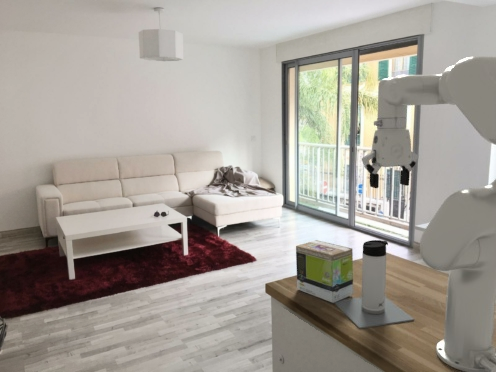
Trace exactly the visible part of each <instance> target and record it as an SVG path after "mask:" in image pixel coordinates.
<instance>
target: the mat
mask: <svg viewBox="0 0 496 372" xmlns="http://www.w3.org/2000/svg"><path fill="white" fill-rule="evenodd" d="M333 304H334V305H335V306H336V307H337V308H339V310H340V311H341V312H342V314H344V315H345V316H346V317H347V318H348V319H349V320H350V321H351V322H352V324H354V325H355V326H356V327H357V328H358V329H360V330H361V329H367V328H368V329H369V328H374V327H375V328H376V327H380V326H386V325H387V326H388V325H392V324H393V325H394V324H399V323H407V322H411V321H412V322H414V320H415V319H414V317H412V316H411V315H410V314H408V313H407V312H406V311H404V310H403V309H402V308H400V307H399V306H398V305H396V304H395V303H394V302H393V301H391V300H390V299H389V298H387V296H385V311H384V312H383V313H381V314H377V315H374V314H368V313H366V312H364V311H363V310H362V296H361V297H353V298H344V299H341V300H339V301H337V302H334V303H333Z"/></svg>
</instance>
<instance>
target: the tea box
mask: <svg viewBox="0 0 496 372" xmlns="http://www.w3.org/2000/svg"><path fill="white" fill-rule="evenodd" d="M353 256H354V255H353V248H352V247H348V246H343V245H339V244H334V243H331V242H326V241H322V240H318V239H315V240H312V241H308V242H304V243H302V244H299V245H296V246H295V259H296V261H295V262H296V263H295V264H296V288H297V291H301V292H304V293H307V294H309V295H311V296H314V297H317V298H319V299H322V300H325V301H327V302H330V303H331V304H334V302H337V301H339V300H345V299H347V298H349V297H350V296H352V295H353V294H354V266H353Z"/></svg>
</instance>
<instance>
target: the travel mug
mask: <svg viewBox="0 0 496 372" xmlns="http://www.w3.org/2000/svg"><path fill="white" fill-rule="evenodd" d="M387 246H389V242H388V241H387V240H380V239H378V240H377V239H375V240H374V239H373V240H368V241H365V242H363V244H362V261H361V263H362V265H361V266H362V267H361V270H362V271H361V277H362V278H361V297H362V310H363V311H364V312H366V313H368V314H374V315H377V314H381V313H383V312H384V311H385V297H386V273H387Z"/></svg>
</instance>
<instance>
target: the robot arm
mask: <svg viewBox="0 0 496 372" xmlns="http://www.w3.org/2000/svg"><path fill="white" fill-rule="evenodd" d="M377 93H378V94H377V119H376V120H374V121H373V125H374V126H375V127H376V128H377V129H375V130H374V134H373V138H372V144H371V145H372V147H371V152H369V153H367V154H366V155H365V156H362V158H361V162H362V164H363V166H364V169H365V170H366V171H367V172H368V173H369V186H370V187H371V188H374V189H378V188H379V187H380V186H379V185H380V183H379V181H380V176H379V175H380V174H379V170H380V169H381V168H390V167H400V168H401V169H402V170H400V172H399V185H403V186H406V187H408V186H410V174H411V173H410V172H412V170H413V168H414V167H415V165H416V164H417V163H416V162H417V161H418V159H419V154H417V153H416V152H413V151H412V142H411V141H412V140H411V134H410V129H407V118H408V117H407V114H408V106H424V105H425V106H432V105H435V106H436V105H447V104H448V105H453V106H454V105H455V106H456V107H457V108H458V110H459V111H460V112H461V113H462V114H463V116H464V117H465V118H466V120H468V122H469V123H470V124H471V125H472V127H473V128H474V129H475V130H476V131H477V133H478V135H480V136H481V137H482V138H483V139H484V140H486V141H487V142H488V143H491V144H493V145H496V56H469V57H465V58H463V59H460V60H459V61H458V62H456V63H455V64H454V65H451V66H448V67H447V68H445V70H444V71H443V72H442V73H439V74H400V75H396V76H395V77H388V78H382V79H381V80H380V81H379V82H378V92H377ZM370 160H371V164H370ZM419 252H420V257H421V259H422V261H423V262H424V264H426V265H427V266H428V267H429V268H431V269H433V270H436V271H439V272H447V271H449V275H448V278H447V285H446V300H445V301H446V302H445V319H444V332H443V334H444V336H443V337H444V338H443V339H442V340H440V341H439V342H437V344H436V348H435V352H436V355H437V357H438V358H439V359H440V360H441V361H442V362H444V364H446V365H448V366H450V367H452V368H454V369H456V370H460V371H462V372H496V348H495V347H494V346H493V334H494V325H495V324H494V323H495V313H496V312H495V310H496V178H495V179H494V180H493V181H492V182H491V183H489V184H488V185H485V186H479V187H471V188H470V187H469V188H464V189H460V190H457V191H454V192H453V193H452V194H450V195H449V196H447V198H445V200H444V201H443V202H442V204H441V205H440V207H438V210H436V213H435V214H434V216H432V219H431V220H430V221H429V223H428V224H427V226H426V227H425V229H424V230H423V233H422V234H421V237H420V242H419Z"/></svg>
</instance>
